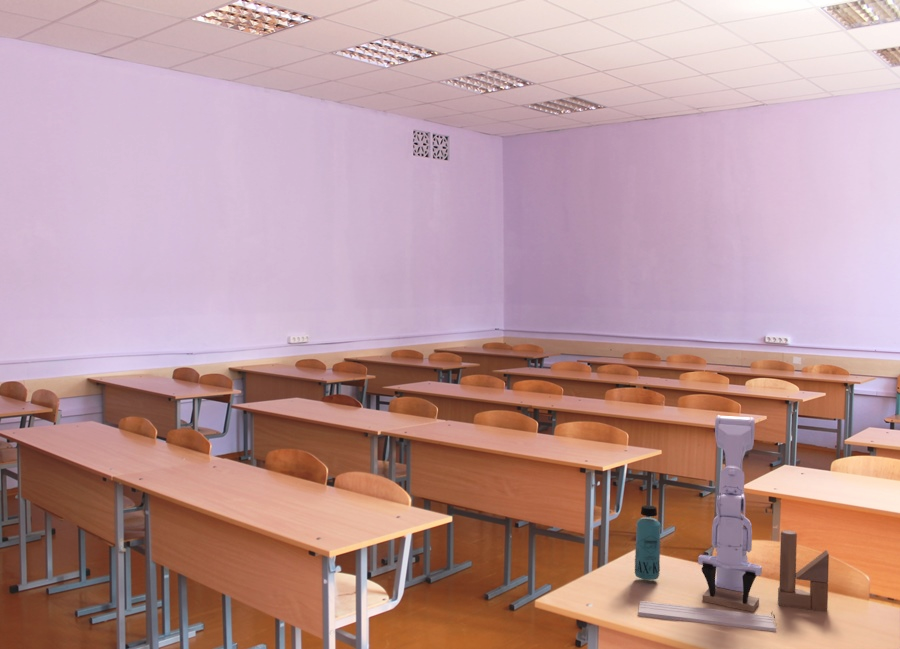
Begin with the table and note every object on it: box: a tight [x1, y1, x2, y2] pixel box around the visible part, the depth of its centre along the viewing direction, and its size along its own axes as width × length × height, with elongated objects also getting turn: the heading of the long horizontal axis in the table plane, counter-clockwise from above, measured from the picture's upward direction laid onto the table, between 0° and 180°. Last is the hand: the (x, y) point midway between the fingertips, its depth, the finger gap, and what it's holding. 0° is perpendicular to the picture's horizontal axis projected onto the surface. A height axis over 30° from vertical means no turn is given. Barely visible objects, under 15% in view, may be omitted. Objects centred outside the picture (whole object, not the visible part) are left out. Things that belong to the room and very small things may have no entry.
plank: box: [702, 587, 760, 613], centre depth 191 cm, size 6×12×2 cm, turn 57°
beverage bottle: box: [633, 504, 662, 581], centre depth 205 cm, size 6×7×20 cm
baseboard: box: [637, 600, 777, 632], centre depth 184 cm, size 30×3×10 cm
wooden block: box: [777, 529, 830, 613], centre depth 189 cm, size 4×11×18 cm, turn 71°
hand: (728, 598), depth 190 cm, fingers open, 7 cm apart
